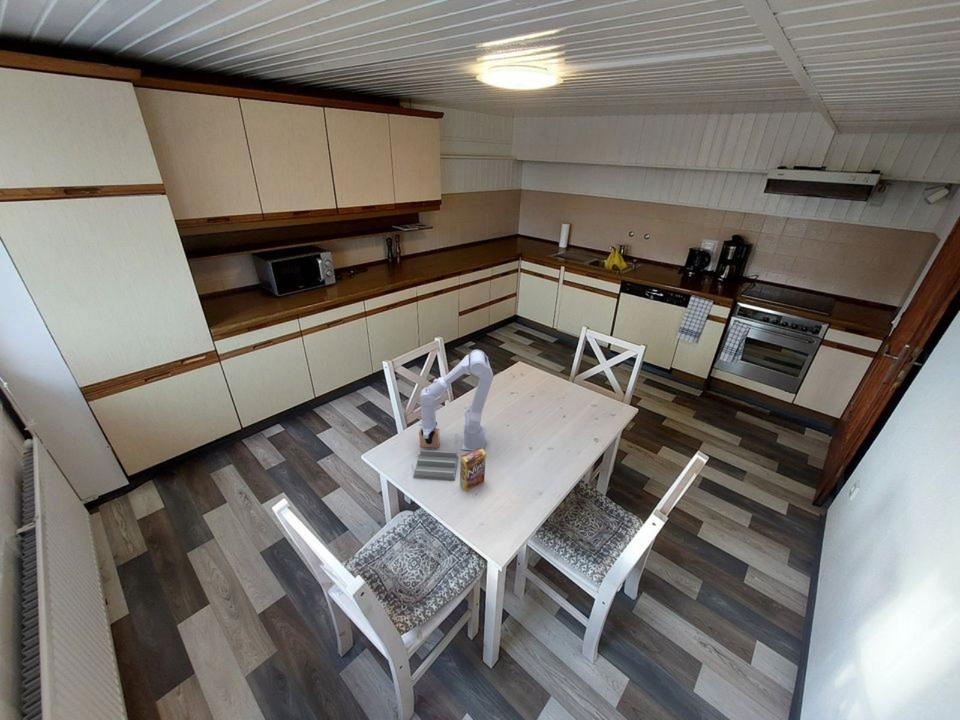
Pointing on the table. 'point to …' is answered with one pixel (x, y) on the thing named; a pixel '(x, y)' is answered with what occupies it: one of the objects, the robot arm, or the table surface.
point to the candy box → (472, 468)
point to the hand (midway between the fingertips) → (429, 440)
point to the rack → (436, 465)
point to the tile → (434, 441)
